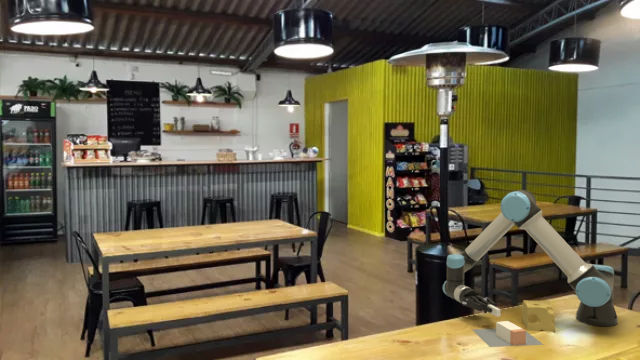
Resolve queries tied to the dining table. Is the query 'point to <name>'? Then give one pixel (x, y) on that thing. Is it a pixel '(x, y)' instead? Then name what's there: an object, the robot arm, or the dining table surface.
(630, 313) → the dining table surface
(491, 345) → the slate mat
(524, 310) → the cheese
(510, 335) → the tall block
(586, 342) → the dining table surface
